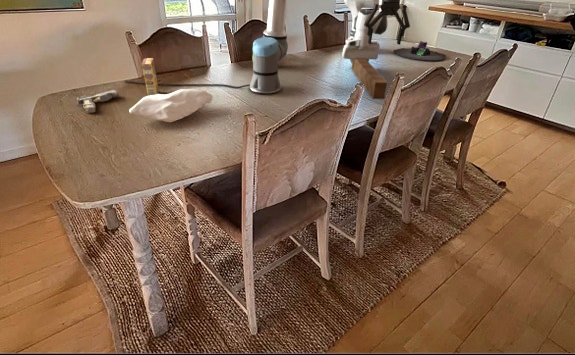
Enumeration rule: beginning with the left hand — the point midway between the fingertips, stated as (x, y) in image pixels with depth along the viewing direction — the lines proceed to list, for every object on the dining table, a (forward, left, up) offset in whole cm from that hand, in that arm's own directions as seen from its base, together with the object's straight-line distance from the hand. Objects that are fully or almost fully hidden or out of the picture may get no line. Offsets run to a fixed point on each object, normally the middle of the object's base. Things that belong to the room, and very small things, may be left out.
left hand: (383, 43), depth 166 cm
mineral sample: (+60, +73, -24) cm, 97 cm away
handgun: (-126, -4, -24) cm, 128 cm away
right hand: (+4, +38, -21) cm, 44 cm away
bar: (+2, +19, -24) cm, 31 cm away
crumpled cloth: (-95, -18, -24) cm, 99 cm away
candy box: (-106, +6, -24) cm, 108 cm away
